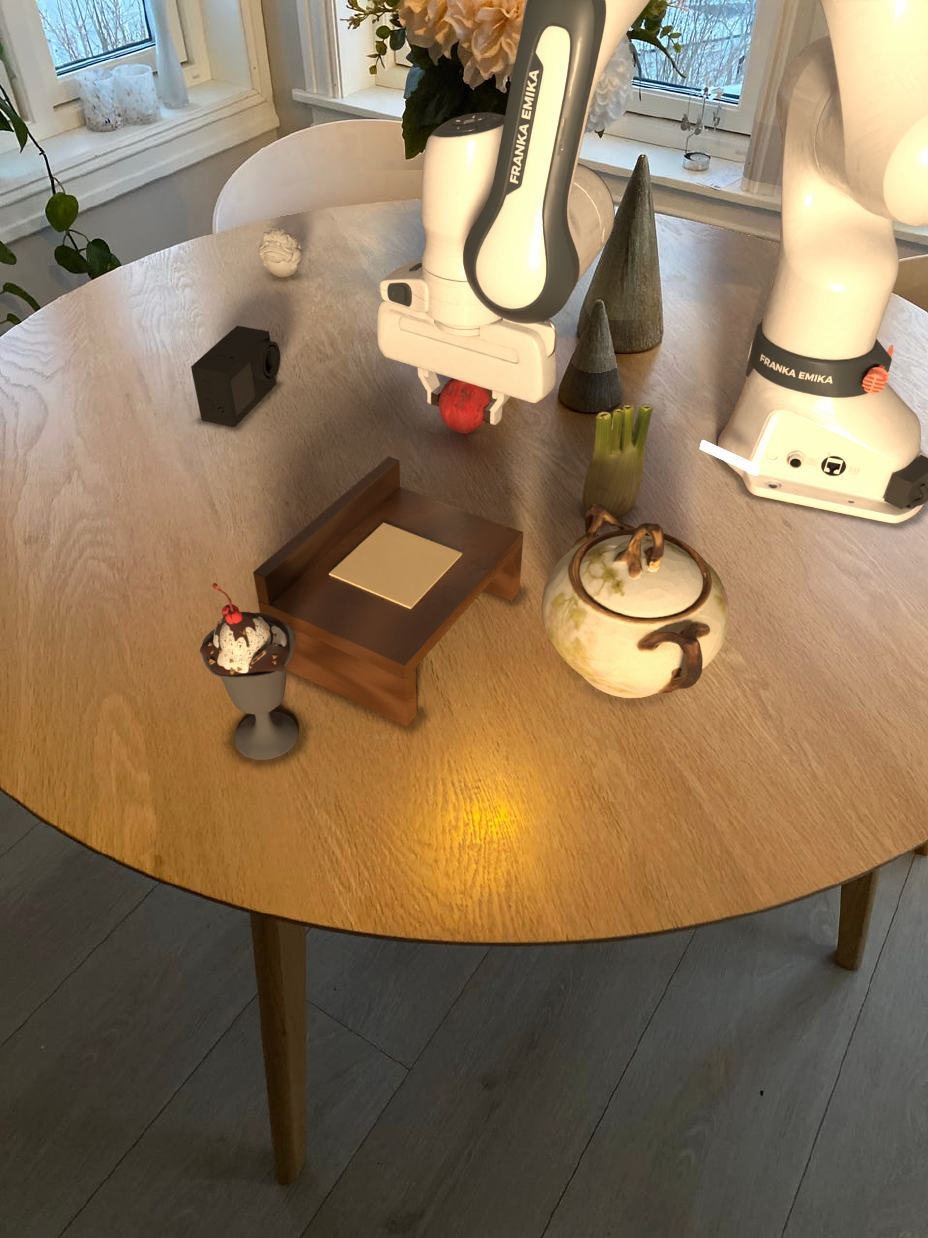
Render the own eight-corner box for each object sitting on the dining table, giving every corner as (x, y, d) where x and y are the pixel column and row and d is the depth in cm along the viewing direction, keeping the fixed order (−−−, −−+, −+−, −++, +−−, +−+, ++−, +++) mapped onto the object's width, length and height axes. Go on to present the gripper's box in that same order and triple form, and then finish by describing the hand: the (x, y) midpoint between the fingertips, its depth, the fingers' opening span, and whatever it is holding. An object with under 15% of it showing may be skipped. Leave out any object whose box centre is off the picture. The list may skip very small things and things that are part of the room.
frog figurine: (255, 285, 135) (248, 235, 130) (270, 264, 140) (264, 216, 135) (296, 288, 134) (291, 239, 130) (310, 268, 139) (306, 219, 135)
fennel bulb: (636, 500, 99) (654, 397, 91) (638, 529, 95) (656, 424, 87) (580, 496, 99) (592, 393, 91) (579, 525, 96) (592, 420, 87)
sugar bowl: (761, 729, 76) (810, 588, 66) (588, 773, 73) (612, 631, 63) (653, 575, 90) (680, 438, 80) (503, 606, 87) (511, 467, 77)
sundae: (226, 706, 77) (193, 564, 67) (310, 702, 78) (290, 560, 68) (218, 771, 73) (181, 629, 62) (307, 766, 73) (285, 624, 63)
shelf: (519, 592, 88) (526, 503, 81) (407, 727, 76) (403, 637, 69) (392, 542, 93) (388, 455, 86) (268, 661, 81) (252, 571, 74)
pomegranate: (484, 450, 105) (487, 385, 100) (433, 443, 106) (433, 378, 101) (493, 422, 109) (496, 358, 104) (444, 416, 110) (445, 352, 105)
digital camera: (244, 430, 107) (234, 374, 103) (201, 421, 109) (190, 365, 104) (285, 386, 115) (279, 331, 110) (245, 378, 116) (236, 324, 111)
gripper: (573, 304, 95) (560, 425, 104) (399, 258, 102) (403, 375, 111) (544, 329, 91) (534, 453, 100) (365, 279, 98) (372, 399, 107)
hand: (463, 411), depth 106 cm, fingers closed on pomegranate, 6 cm apart
